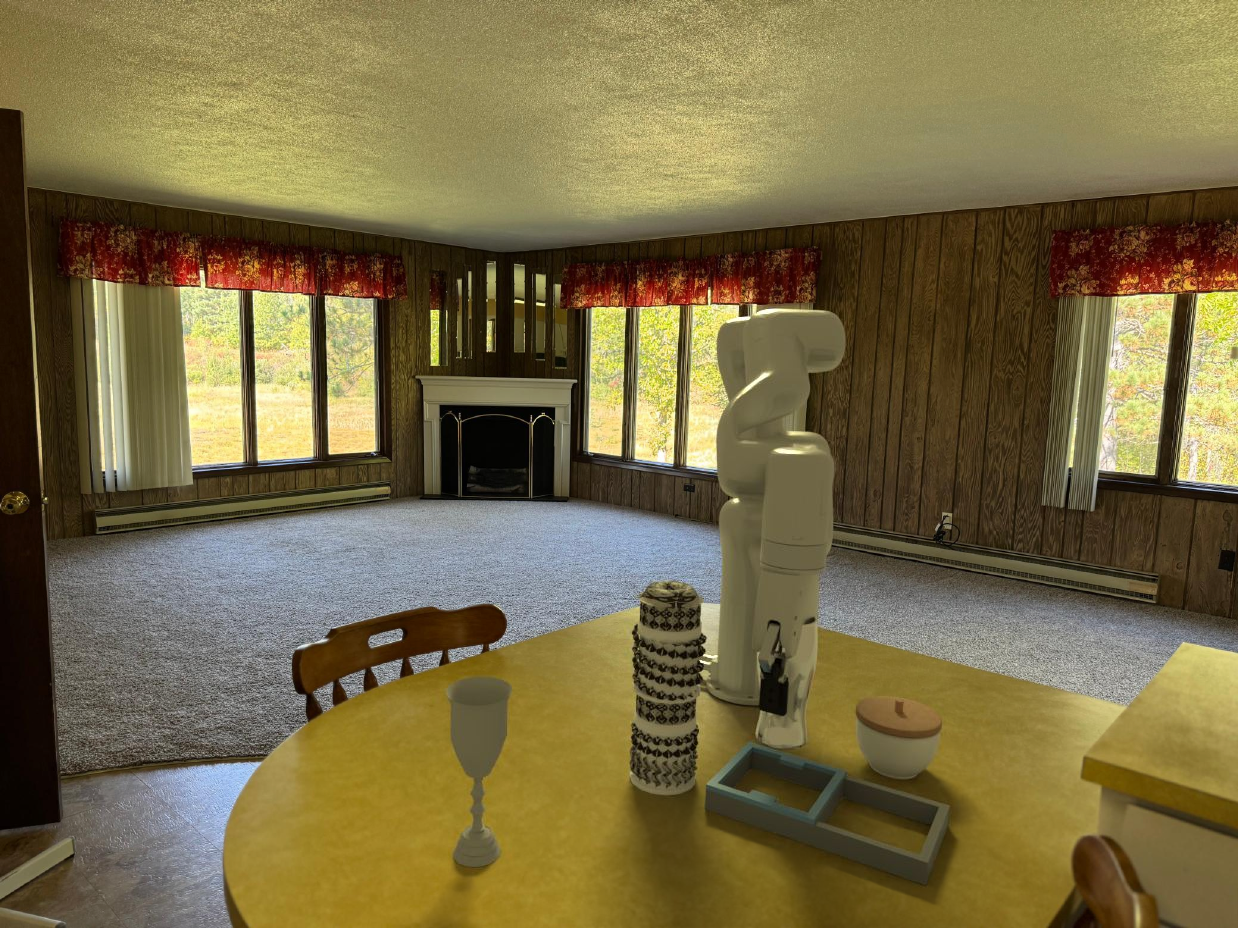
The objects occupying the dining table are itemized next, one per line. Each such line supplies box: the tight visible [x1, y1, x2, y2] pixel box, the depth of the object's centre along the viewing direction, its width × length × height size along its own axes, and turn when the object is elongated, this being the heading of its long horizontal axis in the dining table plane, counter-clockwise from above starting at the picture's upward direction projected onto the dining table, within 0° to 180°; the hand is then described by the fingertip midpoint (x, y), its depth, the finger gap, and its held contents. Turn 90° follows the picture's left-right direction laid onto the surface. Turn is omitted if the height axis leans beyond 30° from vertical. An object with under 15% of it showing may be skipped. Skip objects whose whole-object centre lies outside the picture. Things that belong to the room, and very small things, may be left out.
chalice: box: [445, 676, 513, 868], centre depth 86 cm, size 7×7×18 cm
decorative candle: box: [629, 580, 708, 796], centre depth 102 cm, size 9×9×25 cm
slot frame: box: [704, 741, 951, 886], centre depth 96 cm, size 25×13×3 cm, turn 59°
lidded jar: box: [855, 695, 943, 780], centre depth 108 cm, size 11×11×9 cm
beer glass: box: [754, 616, 819, 751], centre depth 97 cm, size 7×7×15 cm
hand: (783, 700), depth 97 cm, fingers closed on beer glass, 6 cm apart
